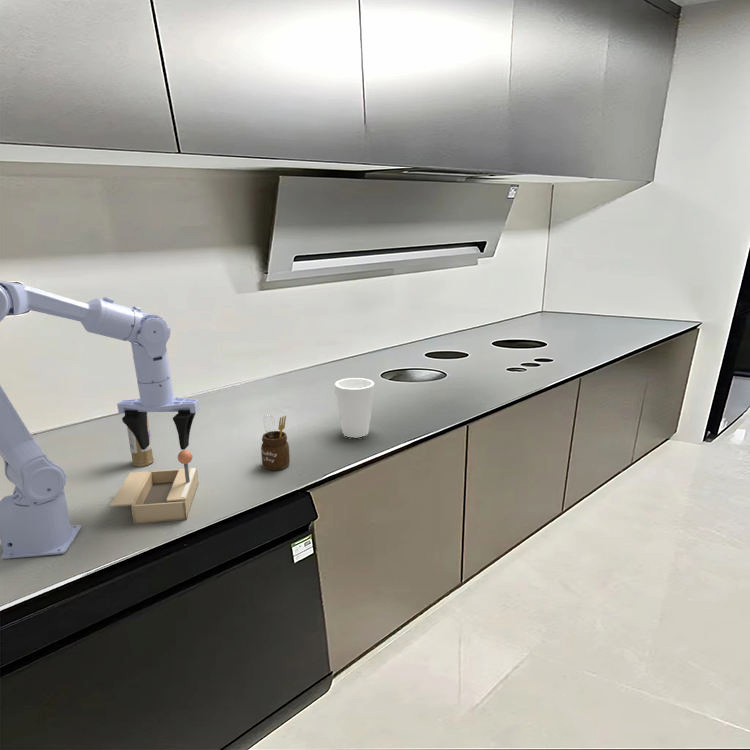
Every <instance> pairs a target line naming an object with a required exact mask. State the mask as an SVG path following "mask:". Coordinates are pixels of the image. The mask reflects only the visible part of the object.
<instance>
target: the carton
mask: <svg viewBox="0 0 750 750" xmlns="http://www.w3.org/2000/svg"><path fill="white" fill-rule="evenodd" d="M179 469H180V468H177V469H176V468H175V469H163V470H162V469H161V470H151V471H136V472H134V471H133V472H129V474H128V475H127V476H126V478H125V480H124V482H123V484H122V485H121V487H120V488H119V490H118V492H117V493H116V495H115V497H113V500H112V502H111V503H110V504H109V506H110V507H111V508H113V507H124V506H130V508H131V514H132V520H133V521H132V522H133V524H134V525H136V524H147V523H158V522H159V523H160V522H171V521H183V520H186V521H187V519H188V518H189V517H188V516H189V514H190V510H191V508H190V507H192V505H193V502H192V501H193V500H194V499H195V495H196V492H197V489H198V486H199V476H198V469H197V470H196V473H195V476H194V478H193V481H192V484H191V487H190V490H189V493H188V495H187V498H186V500H181V501H168V502H166V500H167V497H168V495H169V493H170V490H171V488H172V485H173V483H174V481H175V478H176V476H177V473H178V471H179ZM191 504H192V505H191ZM188 513H189V514H188Z"/></svg>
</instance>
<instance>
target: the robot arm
mask: <svg viewBox="0 0 750 750" xmlns="http://www.w3.org/2000/svg"><path fill="white" fill-rule="evenodd" d="M31 311H33V312H37V313H42V314H46V315H49V316H54V317H59V318H64V319H67V320H72V321H76V322H80V324H81V326H83V328H84V330H85V331H86V332H88V333H91V334H95V335H99V336H103V337H106V338H112V339H115V340H118V341H119V340H120V341H123V342H129V343H130V345H131V350H132V358H133V359H132V360H133V364H134V369H135V375H136V376H135V377H136V381H137V387H138V388H137V389H138V393H139V394H138V395H139V398H135V399H134V398H131V399H122V400H121V401H118V403H117V404H116V405H117V411H118V414H124V416H122V418H121V420H122V423H124V424H125V425H126V427H127V426H128V427H127V428H129V429H130V430H131V431H132V433H133V434H134V436H135V437H136V439H137V441H138V443H139V445H140V447H141V450H145V449H146V448H147V447H148V446H149V445H150V444H149V435H148V429H147V417H148V414H147V413H152V412H153V413H163V412H166V413H177V414H175V415H174V416H173V417H172V421H173V423H174V425H175V428H176V431H177V435H178V443H179V447H180V450H181V451H183V450H187V448H188V447H189V445H190V435H191V433H190V432H191V429H192V428H191V427H192V425H193V421H194V418H195V416H196V413H197V412H198V411H199V410H200V403H199V399H191V398H185V397H184V398H183V397H177V396H174V395H175V394H174V389H173V383H172V376H171V375H172V374H171V370H170V362H169V356H168V349H167V343H168V341H169V339H170V337H171V328H170V327H168V324H167V322H166V321H165V320H164V318H162V317H161V316H159V315H156V314H152V313H149V312H144V311H142V308H141V307H137V306H132V308H131V307H129V306H124V305H122V304H119V303H118V304H117V303H115V299H113V298H110V297H106V296H104V297H103V298H98V297H97V298H94V299H91V300H89V301H87V302H82V301H78V300H75V299H72V298H68V297H66V296H63V295H59V294H57V293H56V294H55V293H52V292H49V291H47V290H42V289H40V288H36V287H33V286H29V285H26V284H22V283H18V282H12V281H4V280H0V323H1V322H2V321H3V320H4V319H5V317H6V316H7V315H8V314H9V315H11V316H14V317H15V316H19V315H21V314H24V313H28V312H31ZM0 457H1V458H2V460H3V463H4V475H5V478H6V479H7V480H8V481H9V482H11V483H12V484H13V485H14V486H15V487H14V489H13V491H12V492H13V493H12V494H10V495H6V496H4V497H2V498H1V499H0V545H1V549H2V554H1V556H0V557H1V560H5V559H17V558H28V557H39V556H40V557H41V556H51V555H63V554H65V553H67V551H68V549H69V548H70V546H71V545H72V543H73V541H74V539H76V537H77V536H78V534H79V532H80V531H81V529H82V526H81V525H78V524H77V525H71V519H70V514H69V508H68V504H67V503H68V501H67V497H66V492H65V486H66V483H67V475H66V473H65V470H64V469H63V468H62V467H61V466H60V465H58V464H56V463H55V462H53V461H52V460H51V459H50V458H48V455H46V453H45V452H44V451H43V449H42V448H41V446H40V445H39V444H38V443H37V441H36V440H35V439H34V437H33V435H32V434H31V433H30V431H29V429H28V427H27V426H26V425H25V423H24V421H23V420H22V418H21V416H20V414H19V413H18V412H17V409H16V408H15V407H14V405H13V403H12V402H11V400H10V398H9V396H8V395H7V393H6V392H5V389H3V387H2V385H1V384H0Z"/></svg>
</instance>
